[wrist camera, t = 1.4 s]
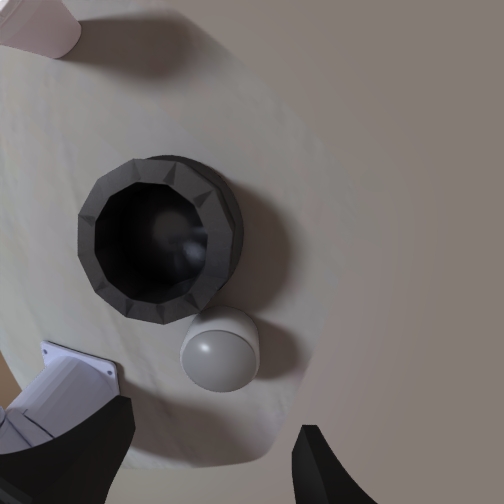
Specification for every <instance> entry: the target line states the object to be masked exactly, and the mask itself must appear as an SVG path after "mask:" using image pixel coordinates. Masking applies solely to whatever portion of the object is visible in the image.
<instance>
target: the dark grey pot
mask: <svg viewBox="0 0 504 504" xmlns="http://www.w3.org/2000/svg"><path fill="white" fill-rule="evenodd" d="M242 245H243V221H242V216H241V212H240V209H239V206H238V203H237V201H236V199H235V197H234V195H233V193H232V191H231V190H230V188H229V187H228V185H227V184H226V183H225V182H224V181H223V180H222V178H221V177H220V176H218V175H217V174H216V173H215V172H214V171H213V170H211V169H210V168H208V167H207V166H205V165H203V164H201V163H199V162H197V161H195V160H192V159H189V158H185V157H181V156H174V155H162V156H155V157H151V158H147V159H132V160H130V161H128V162H127V163H125V164H123V165H121V166H119V167H118V168H116V169H114V170H112V171H111V172H109V173H107V174H106V175H104V176H102V177H101V178H99V179H98V180H97V182H96V183H95V185H94V187H93V189H92V190H91V192H90V194H89V196H88V198H87V199H86V201H85V203H84V205H83V207H82V209H81V211H80V213H79V214H78V257H79V260H80V262H81V264H82V266H83V268H84V271H85V273H86V275H87V277H88V279H89V281H90V283H91V285H92V287H93V289H94V291H95V293H96V294H98V295H99V296H100V297H101V298H102V299H104V300H105V301H106V302H107V303H109V304H110V305H111V306H112V307H114V308H115V309H116V310H117V311H119V312H120V313H121V314H122V315H124V316H125V317H127V318H132V319H137V320H142V321H147V322H152V323H157V324H163V325H165V324H168V323H170V322H173V321H176V320H179V319H182V318H185V317H187V316H190V315H193V314H196V313H199V312H201V311H202V310H203V309H204V307H205V306H206V305H207V303H208V302H209V301H210V300H211V298H212V297H213V296H214V295H215V293H216V292H217V291H219V290H220V289H221V288H222V287H223V286H224V284H225V283H226V282H227V281H228V280H229V278H230V277H231V275H232V274H233V272H234V270H235V268H236V266H237V264H238V261H239V258H240V255H241V250H242Z"/></svg>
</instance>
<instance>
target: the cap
mask: <svg viewBox="0 0 504 504" xmlns="http://www.w3.org/2000/svg"><path fill="white" fill-rule="evenodd" d="M180 362H181V365H182V368H183V370H184V372H185V373H186V375H187V376H188V377H189V378H190V379H191V380H192V381H193V382H194V383H195V384H197V385H198V386H200V387H202V388H204V389H207V390H210V391H214V392H231V391H235V390H238V389H240V388H242V387H244V386H246V385H247V384H249V383H250V382H251V381H252V380H253V379H254V377H255V376H256V374H257V372H258V369H259V364H260V358H259V335H258V330H257V327H256V325H255V324H254V322H253V321H252V319H251V318H250V317H249V316H248V315H246V314H245V313H243V312H242V311H240V310H238V309H235V308H232V307H227V306H216V307H211V308H208V309H206V310H204V311H202V312H201V313H199V314H198V315H197V316H196V317H195V318H194V320H193V321H192V324H191V326H190V328H189V330H188V333H187V335H186V338H185V340H184V342H183V345H182V347H181V351H180Z"/></svg>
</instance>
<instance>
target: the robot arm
mask: <svg viewBox="0 0 504 504" xmlns="http://www.w3.org/2000/svg"><path fill="white" fill-rule="evenodd" d="M41 349H42V353H43V358H44V362H45V366H46V367H45V368H44V369H43V370H42V372H41V373H40V374H39V375H38V376H37V377H36V378H35V379H34V380H33V381H32V382H31V383H30V384H29V385H28V386H27V387H26V388H25V389H24V390H23V391H22V392H21V394H20V395H19V396H18V397H17V398H16V399H15V400H14V401H13V402H12V403H11V404H10V405H9V406H8V408H7V409H6V410H3V409H2V407H1V406H0V504H104V503H105V500H106V497H107V494H108V491H109V488H110V486H111V484H112V482H113V480H114V477H115V475H116V473H117V471H118V469H119V467H120V465H121V463H122V461H123V459H124V457H125V455H126V453H127V451H128V449H129V447H130V444H131V441H132V438H133V435H134V432H135V429H136V428H135V422H134V416H133V410H132V404H131V398H128V397H124V396H121V395H120V393H119V386H118V378H117V370H116V366H115V364H114V363H113V362H111V361H107V360H104V359H100V358H97V357H93V356H90V355H86V354H83V353H80V352H77V351H73V350H70V349H67V348H64V347H61V346H58V345H55V344H53V343H50V342H47V341H43V342H42V343H41ZM110 371H111V372H112V373H111V372H110ZM292 478H293V485H294V493H295V500H296V504H377V503H376V502H375V501H374V500H373V499H372V498H371V497H369V496H368V495H367V494H366V493H365V492H364V491H363V490H362V489H361V488H360V487H359V486H358V485H357V483H356V482H355V481H354V480H353V479H352V478H351V476H350V475H349V474H348V473H347V471H346V470H345V469H344V468H343V466H342V465H341V463H340V462H339V460H338V459H337V457H336V456H335V455H334V453H333V451H332V450H331V448H330V447H329V445H328V443H327V442H326V440H325V438H324V436H323V435H322V433H321V431H320V429H319V427H318V426H317V425H302V427H301V430H300V433H299V435H298V438H297V441H296V443H295V446H294V448H293V451H292Z"/></svg>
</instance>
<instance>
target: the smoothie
mask: <svg viewBox="0 0 504 504" xmlns="http://www.w3.org/2000/svg"><path fill="white" fill-rule="evenodd" d="M80 35H81V25H80V24H79V23H78V21H77V20H76V19H75V18H74V16H73V15H72V14H71V13H70V11H69V10H68V9H67V8H66V6H65V5H64V4H63V3H62V1H61V0H0V45H4V46H9V47H13V48H17V49H21V50H24V51H28V52H32V53H35V54H39V55H42V56H46V57H49V58H53V59H56V58H60V57H62V56H64V55H65V54H67V53H68V52H69V51H70V50H71V49H72V48H73V47H74V46H75V44H76V43H77V41H78V40H79V38H80Z"/></svg>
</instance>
